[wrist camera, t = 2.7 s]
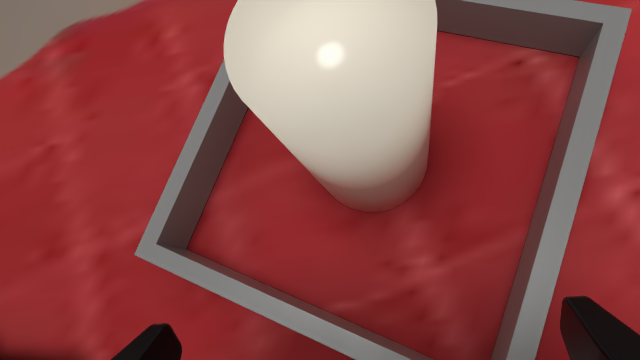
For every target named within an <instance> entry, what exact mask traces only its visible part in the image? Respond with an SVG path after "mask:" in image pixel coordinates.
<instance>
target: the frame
mask: <svg viewBox="0 0 640 360" xmlns="http://www.w3.org/2000/svg"><path fill="white" fill-rule="evenodd" d="M435 2H436V8H437V30H438V31H443V32H449V33H454V34H459V35H465V36H470V37H475V38H481V39H486V40H491V41H497V42H502V43H508V44H513V45H518V46H524V47H529V48H534V49H540V50H545V51H550V52H556V53H561V54H567V55H572V56H577V57H580V58H579V61H578V65H577V68H576V72H575V75H574V78H573V82H572V85H571V88H570V92H569V95H568V99H567V102H566V105H565V109H564V112H563V116H562V119H561V122H560V126H559V129H558V133H557V136H556V139H555V143H554V146H553V150H552V153H551V156H550V160H549V163H548V166H547V170H546V173H545V177H544V180H543V183H542V187H541V190H540V194H539V197H538V200H537V204H536V207H535V211H534V214H533V217H532V221H531V224H530V228H529V231H528V234H527V238H526V241H525V244H524V248H523V251H522V255H521V258H520V261H519V265H518V268H517V272H516V275H515V278H514V282H513V285H512V289H511V292H510V295H509V299H508V302H507V306H506V309H505V312H504V316H503V319H502V322H501V326H500V329H499V333H498V336H497V339H496V343H495V346H494V350H493V353H492V356H491V360H535V357H536V353H537V350H538V346H539V342H540V339H541V335H542V332H543V328H544V324H545V321H546V317H547V314H548V310H549V306H550V303H551V299H552V295H553V292H554V288H555V285H556V281H557V277H558V274H559V270H560V267H561V263H562V259H563V256H564V252H565V249H566V245H567V241H568V238H569V234H570V230H571V227H572V223H573V220H574V216H575V212H576V209H577V205H578V202H579V198H580V194H581V191H582V187H583V184H584V180H585V176H586V173H587V169H588V165H589V162H590V158H591V155H592V151H593V147H594V144H595V140H596V137H597V133H598V129H599V126H600V122H601V119H602V115H603V111H604V108H605V104H606V100H607V97H608V93H609V90H610V86H611V82H612V79H613V75H614V72H615V68H616V64H617V61H618V57H619V54H620V50H621V46H622V43H623V39H624V36H625V32H626V28H627V25H628V21H629V17H630V14H631V10H632V9H628V8H621V7H615V6H608V5H601V4H594V3H587V2H581V1H574V0H435ZM247 109H248V106H247V105H246V104H245V103H244V102H243V101H242V100H241V99H240V97H239V96H238V94H237V93H236V91H235V90H234V88H233V86H232V84H231V82H230V80H229V77H228V74H227V71H226V67H225V61H224V60H223V63H222V65H221V67H220V69H219V71H218V73H217V76H216V78H215V80H214V82H213V84H212V86H211V89H210V91H209V93H208V95H207V97H206V100H205V102H204V104H203V106H202V108H201V110H200V113H199V115H198V117H197V119H196V121H195V124H194V126H193V128H192V130H191V132H190V134H189V137H188V139H187V141H186V143H185V145H184V147H183V150H182V152H181V154H180V156H179V158H178V161H177V163H176V165H175V167H174V169H173V171H172V174H171V176H170V178H169V180H168V182H167V185H166V187H165V189H164V191H163V193H162V195H161V198H160V200H159V202H158V204H157V206H156V208H155V211H154V213H153V215H152V217H151V219H150V222H149V224H148V226H147V228H146V230H145V232H144V235H143V237H142V239H141V241H140V243H139V245H138V248H137V250H136V252H135V254H134V255H136V256H138V257H140V258H142V259H144V260H146V261H148V262H150V263H153V264H155V265H157V266H159V267H161V268H163V269H165V270H167V271H170V272H172V273H174V274H176V275H178V276H180V277H182V278H184V279H186V280H189V281H191V282H193V283H195V284H197V285H199V286H201V287H203V288H205V289H208V290H210V291H212V292H214V293H216V294H218V295H220V296H222V297H224V298H227V299H229V300H231V301H233V302H235V303H237V304H239V305H241V306H243V307H246V308H248V309H250V310H252V311H254V312H256V313H258V314H260V315H263V316H265V317H267V318H269V319H271V320H273V321H275V322H277V323H279V324H282V325H284V326H286V327H288V328H290V329H292V330H294V331H296V332H298V333H301V334H303V335H305V336H307V337H309V338H311V339H313V340H315V341H317V342H320V343H322V344H324V345H326V346H328V347H330V348H332V349H334V350H337V351H339V352H341V353H343V354H345V355H347V356H349V357H351V358H353V359H356V360H435V359H432V358H430V357H428V356H426V355H423V354H421V353H419V352H417V351H414V350H412V349H410V348H408V347H405V346H403V345H401V344H399V343H396V342H394V341H392V340H390V339H387V338H385V337H383V336H381V335H378V334H376V333H374V332H372V331H369V330H367V329H365V328H363V327H360V326H358V325H356V324H354V323H351V322H349V321H347V320H345V319H342V318H340V317H338V316H336V315H333V314H331V313H329V312H327V311H324V310H322V309H320V308H318V307H315V306H313V305H311V304H308V303H306V302H304V301H302V300H299V299H297V298H295V297H293V296H290V295H288V294H286V293H284V292H281V291H279V290H277V289H275V288H272V287H270V286H268V285H266V284H263V283H261V282H259V281H257V280H254V279H252V278H250V277H248V276H245V275H243V274H241V273H239V272H236V271H234V270H232V269H230V268H227V267H225V266H223V265H221V264H218V263H216V262H214V261H212V260H209V259H207V258H205V257H203V256H200V255H198V254H196V253H194V252H191V251H189V250H187V249H186V248H187V246H188V243H189V241H190V239H191V236H192V234H193V232H194V230H195V227H196V225H197V223H198V220H199V218H200V216H201V214H202V211H203V209H204V207H205V204H206V202H207V200H208V198H209V195H210V193H211V191H212V188H213V186H214V184H215V182H216V179H217V177H218V175H219V172H220V170H221V168H222V166H223V163H224V161H225V159H226V157H227V154H228V152H229V150H230V147H231V145H232V143H233V141H234V138H235V136H236V134H237V131H238V129H239V127H240V125H241V122H242V120H243V118H244V115H245V113H246V111H247Z"/></svg>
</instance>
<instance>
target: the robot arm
mask: <svg viewBox="0 0 640 360" xmlns="http://www.w3.org/2000/svg"><path fill="white" fill-rule="evenodd" d="M560 330H561V334H562V337H563V340H564V343H565V346H566V349H567V351H568V354H569V357H570V360H640V335H639V334H637V333H636V332H635V331H633V330H632V329H631V328H629V327H628V326H627V325H625V324H624V323H623V322H621V321H620V320H619V319H617V318H616V317H615V316H613V315H612V314H610V313H609V312H608V311H606V310H605V309H604V308H602V307H601V306H600V305H598V304H597V303H596V302H594V301H593V300H592V299H590V298H588V297H586V296H571V297H565V298H564V299H563V301H562V309H561V319H560ZM181 355H182V346H181V343H180V341H179V339H178V338H177V336H176V334H175V333H174V331H173V329H172V327H171V326H170V325H169V324H167V323H161V324H153V325H151V326H149V327H148V328H147V329H146V330H145V331H143V332H142V333H141V334H140V335H139V336H138V337H136V338H135V339H134V340H133V341H132V342H131V343H130V344H128V345H127V346H126V347H125V348H124V349H123V350H121V351H120V352H119V353H118V354H117V355H116V356H115V357H113V358H112V359H111V360H180V359H181Z"/></svg>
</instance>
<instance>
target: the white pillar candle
mask: <svg viewBox="0 0 640 360" xmlns="http://www.w3.org/2000/svg"><path fill="white" fill-rule="evenodd" d="M436 35H437V8H436V2H435V0H238V1H237V3H236V5H235V7H234V9H233V11H232V13H231V16H230V18H229V21H228V25H227V28H226V32H225V39H224V61H225V67H226V71H227V74H228V77H229V80H230V82H231V84H232V86H233V88H234V90H235V91H236V93H237V94H238V96H239V97H240V99H241V100H242V101H243V102H244V103H245V104H246V105H247V106H248V107H249V108H250V109H251V110H252V111H253V113H254V114H255V115H256V116H257V117H258V118H259V119H260V120H261V121H262V122H263V123H264V124H265V125H266V126H267V127H268V128H269V129H270V131H271V132H272V133H273V134H274V135H275V136H276V137H277V138H278V139H279V140H280V141H281V142H282V143H283V144H284V145H285V146H286V147H287V149H288V150H289V151H290V152H291V153H292V154H293V155H294V156H295V157H296V158H297V159H298V160H299V161H300V162H301V163H302V164H303V165H304V167H305V168H306V169H307V170H308V171H309V172H310V173H311V174H312V175H313V176H314V177H315V178H316V179H317V180H318V181H319V182H320V183H321V185H322V186H323V187H324V188H325V189H326V190H327V191H328V192H329V193H330V194H331V195H332V196H333V197H334V198H335V199H336V200H337V201H339V202H340V203H341V204H343V205H345V206H346V207H349V208H351V209H354V210H357V211H362V212H380V211H385V210H389V209H392V208H394V207H396V206H398V205H400V204H402V203H403V202H405V201H406V200H407V199H409V198H410V197H411V196H412V195H413V194H414V193H415V192H416V190H417V189H418V188H419V186H420V185H421V183H422V181H423V179H424V176H425V174H426V170H427V164H428V153H429V138H430V123H431V108H432V94H433V79H434V64H435V49H436Z"/></svg>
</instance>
